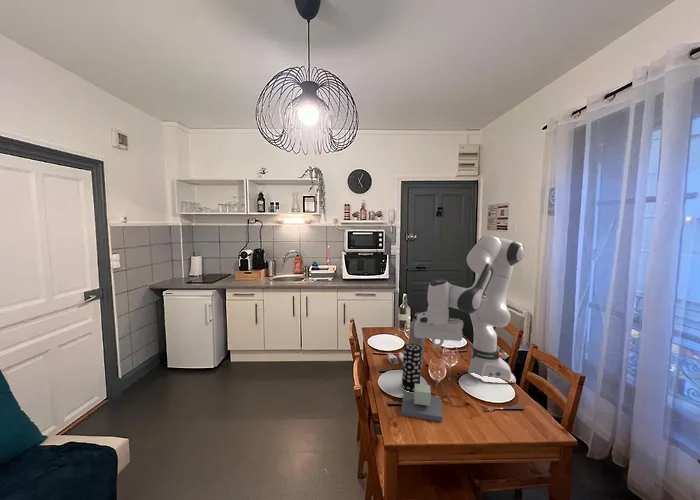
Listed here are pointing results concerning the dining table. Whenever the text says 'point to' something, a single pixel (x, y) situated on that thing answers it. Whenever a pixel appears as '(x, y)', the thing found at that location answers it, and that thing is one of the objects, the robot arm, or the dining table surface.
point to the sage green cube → (422, 394)
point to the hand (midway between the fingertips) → (437, 348)
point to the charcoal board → (421, 408)
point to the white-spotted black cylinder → (411, 366)
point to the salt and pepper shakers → (395, 360)
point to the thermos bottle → (416, 340)
